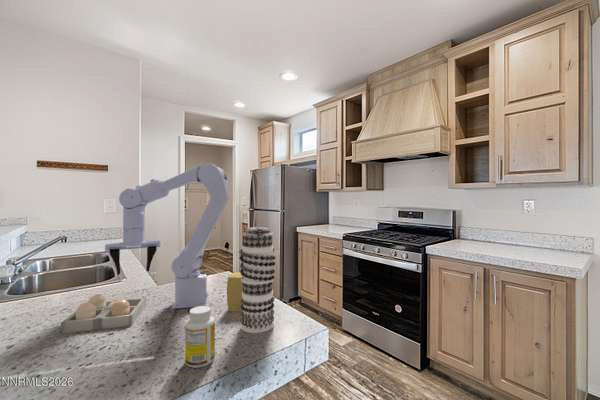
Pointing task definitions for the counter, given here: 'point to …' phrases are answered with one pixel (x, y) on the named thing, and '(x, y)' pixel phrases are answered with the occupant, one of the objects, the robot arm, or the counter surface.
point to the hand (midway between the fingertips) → (133, 272)
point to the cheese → (234, 292)
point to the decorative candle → (257, 280)
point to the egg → (120, 308)
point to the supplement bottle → (199, 337)
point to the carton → (105, 318)
